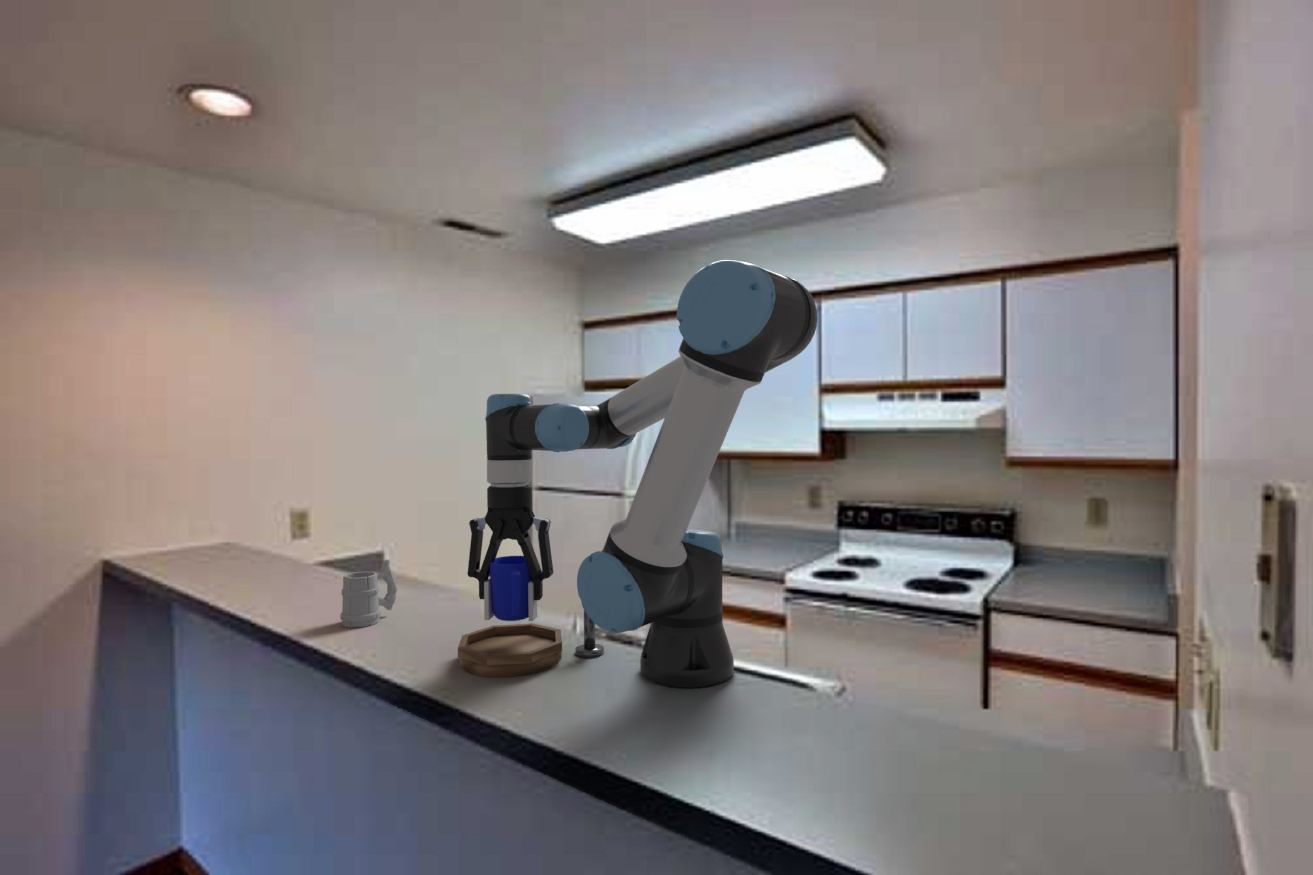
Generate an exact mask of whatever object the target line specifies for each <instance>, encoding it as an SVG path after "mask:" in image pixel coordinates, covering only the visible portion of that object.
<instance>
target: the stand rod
mask: <svg viewBox="0 0 1313 875" xmlns="http://www.w3.org/2000/svg"><path fill="white" fill-rule="evenodd" d="M574 651H575V652H574V653H575V655H576V656H577V657H581V658H596V657H599V656H602V655H604V653H605V647H604V645H602V644H598V643H596V624H595V623H594V622H593V621H592V620H591V619H590V618H589V617H588V615H587V614H586V612H585V610H584V609H583V644H580V645H577V646H575V650H574Z"/></svg>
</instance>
